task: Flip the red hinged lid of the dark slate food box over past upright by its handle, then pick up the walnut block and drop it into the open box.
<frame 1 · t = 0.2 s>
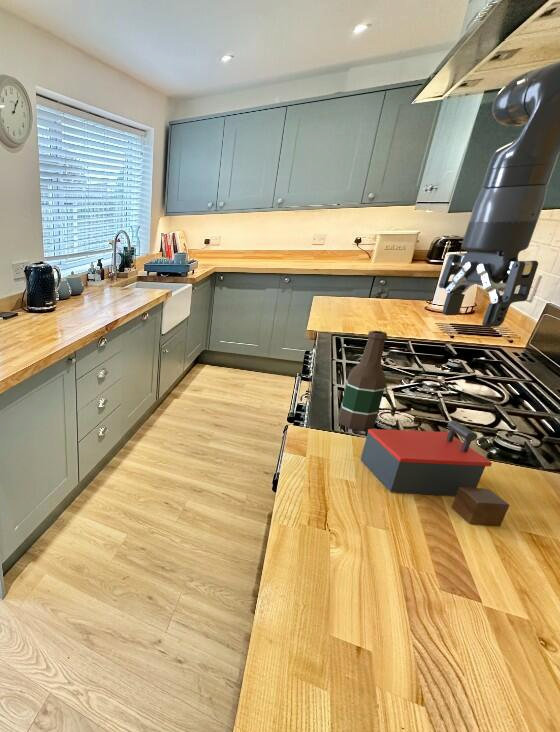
hand: (469, 320, 71), 33 cm above the table, tool pointing down, fingers open, 8 cm apart
lid: (427, 436, 80), point 9 cm above the table, hinge at 0.0°
beer bottle: (354, 424, 105), on the table
block: (474, 516, 73), on the table
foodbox: (412, 477, 84), on the table
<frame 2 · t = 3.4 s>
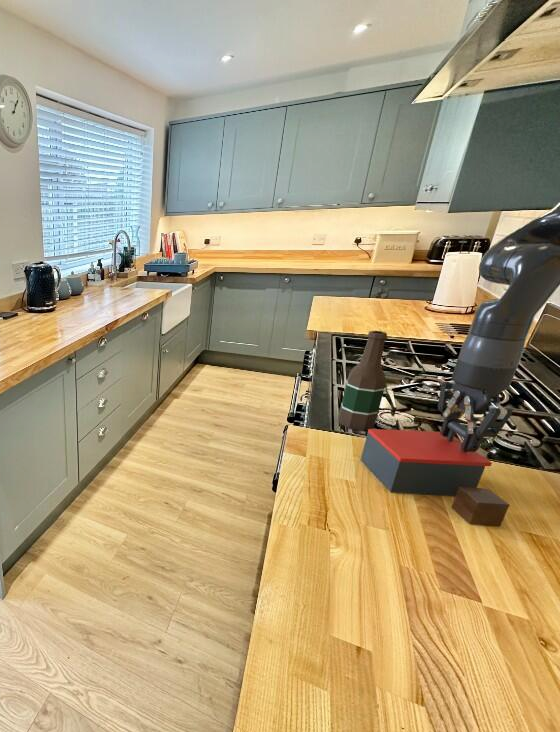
hand: (457, 442, 80), 8 cm above the table, tool pointing down, fingers closed on lid, 5 cm apart
lid: (427, 436, 80), point 9 cm above the table, hinge at 0.0°, touching gripper
everything else where it was.
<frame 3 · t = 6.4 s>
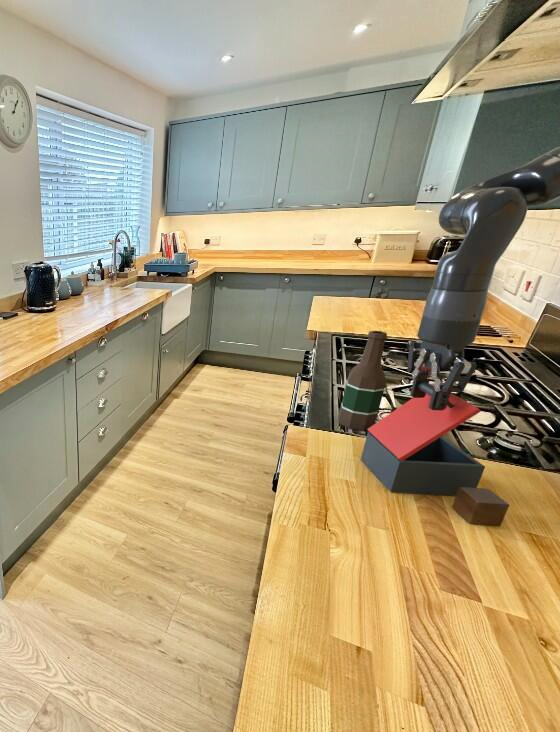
hand: (426, 402, 78), 17 cm above the table, tool pointing down, fingers closed on lid, 5 cm apart
lid: (411, 414, 80), point 14 cm above the table, hinge at 48.4°, touching gripper
everything else where it was.
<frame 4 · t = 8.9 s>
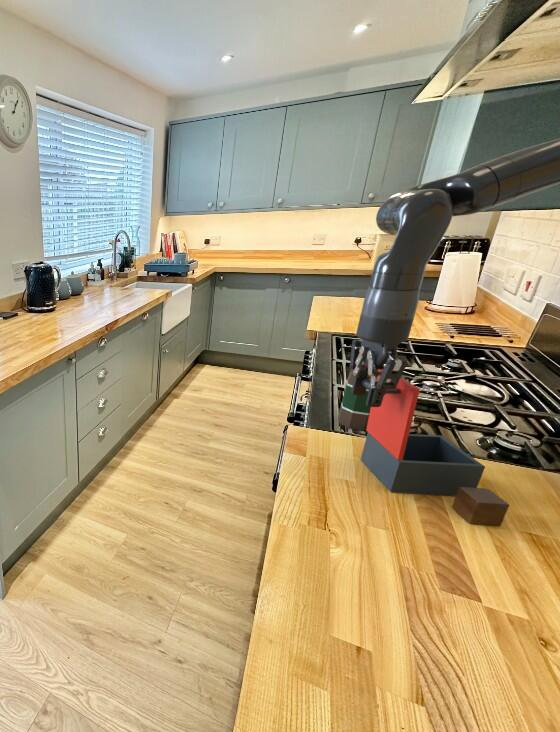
hand: (365, 399, 80), 17 cm above the table, tool pointing down, fingers closed on lid, 5 cm apart
lid: (377, 411, 80), point 14 cm above the table, hinge at 92.9°, touching gripper
everything else where it was.
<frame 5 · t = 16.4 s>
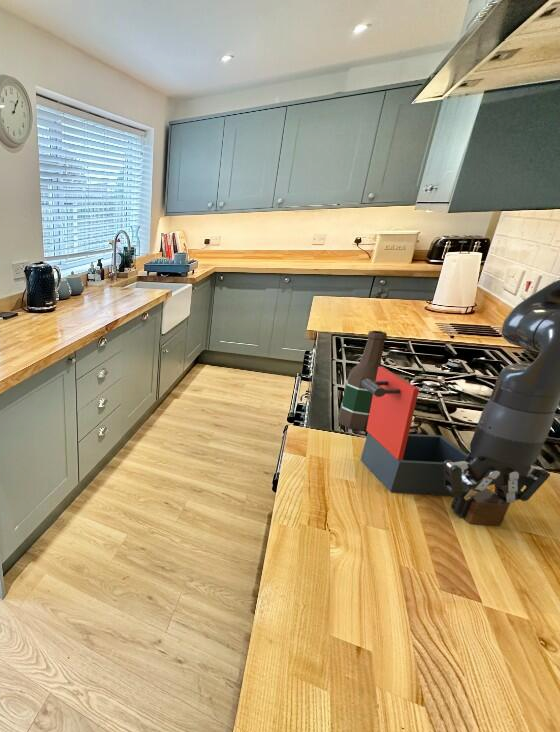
hand: (475, 514, 73), 0 cm above the table, tool pointing down, fingers closed on block, 4 cm apart
lid: (377, 411, 80), point 14 cm above the table, hinge at 93.3°
block: (474, 516, 73), on the table, touching gripper
everything else where it was.
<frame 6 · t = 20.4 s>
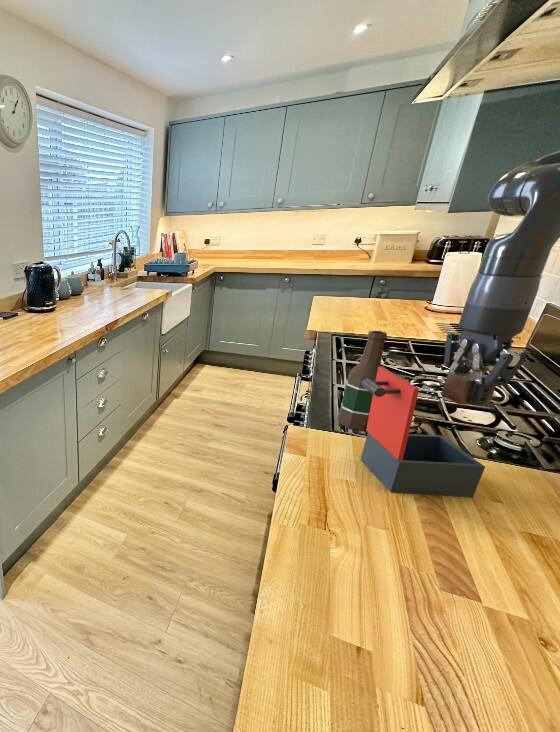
hand: (464, 397, 74), 19 cm above the table, tool pointing down, fingers closed on block, 4 cm apart
block: (464, 399, 74), point 19 cm above the table, touching gripper
everything else where it was.
when the fingers open (5 cm above the table, at t = 24.4 s): block drops 4 cm, resting on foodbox.
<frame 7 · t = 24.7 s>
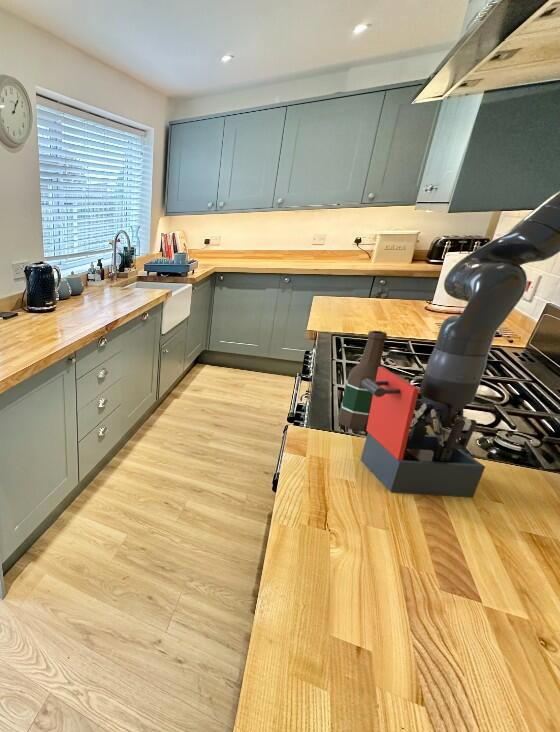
hand: (426, 452, 82), 6 cm above the table, tool pointing down, fingers open, 6 cm apart
block: (419, 474, 83), point 1 cm above the table, touching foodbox
everything else where it was.
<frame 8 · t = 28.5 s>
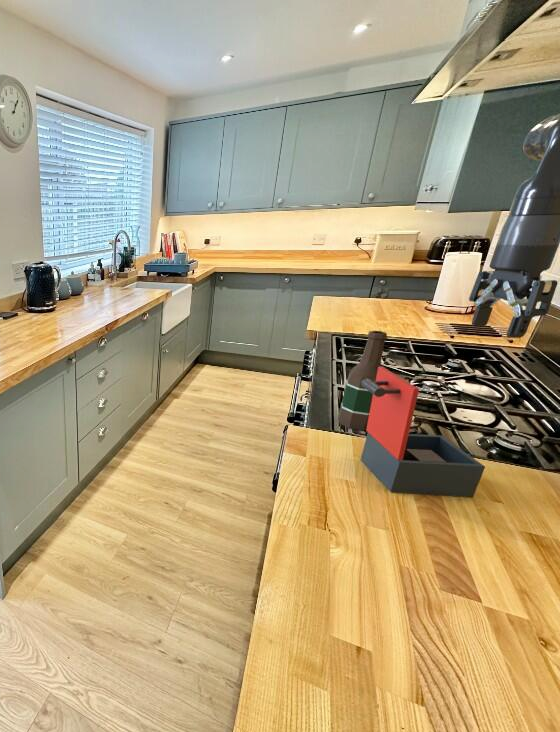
hand: (495, 331, 79), 28 cm above the table, tool pointing down, fingers open, 8 cm apart
nothing on the table moved.
at the end: lid at +93° (first picture: +0°); block inside the target area in the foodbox (1.0 cm from its centre), point 0.8 cm above the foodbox's base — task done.
